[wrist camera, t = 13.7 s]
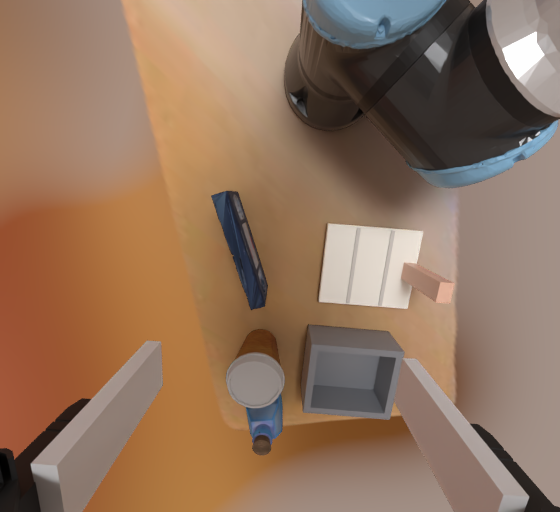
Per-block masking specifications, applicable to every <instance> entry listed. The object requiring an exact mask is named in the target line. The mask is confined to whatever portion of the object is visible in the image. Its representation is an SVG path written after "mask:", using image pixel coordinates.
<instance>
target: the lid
mask: <svg viewBox="0 0 560 512" xmlns="http://www.w3.org/2000/svg"><path fill="white" fill-rule="evenodd" d="M422 236H423V231H420V230H408V229H395V228H383V227H371V226H358V225H346V224H333V223H327V231H326V240H325V248H324V256H323V265H322V273H321V281H320V290H319V298H318V300H319V302H326V303H339V304H352V305H365V306H377V307H390V308H403V309H408V304H409V299H410V294H411V289H412V286H413V287H414V288H416V289H417V290H418V291H420V292H421V293H423V294H424V295H426V296H427V297H429V298H430V299H431V300H433V301H434V302H436V303H448V304H450V301H451V297H452V293H453V289H454V285H455V283H453V282H451V281H449V280H447V279H445V278H443V277H441V276H439V275H437V274H435V273H433V272H431V271H429V270H427V269H425V268H423V267H422V266H420V265H418V264H417V260H418V255H419V250H420V245H421V240H422Z"/></svg>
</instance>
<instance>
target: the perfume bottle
mask: <svg viewBox="0 0 560 512" xmlns="http://www.w3.org/2000/svg"><path fill="white" fill-rule="evenodd" d="M246 411H247V417H248V423H249V429H250V434H251V436H252V438H253V439H252V442H253V447H252V449H253V451H254V452H255V453H256V454H258V455H266V454H268V453H269V452H270V451H271V444H272V439H275V438H276V437H277V436H278V435H279V434H280V433H281V432H282V398H281V393H280V395H279V397H278V398H277V399H276V400H275V401H274V402H273V403H272V404H270V405H268V406H266V407H263V408H249V407H246Z"/></svg>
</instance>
